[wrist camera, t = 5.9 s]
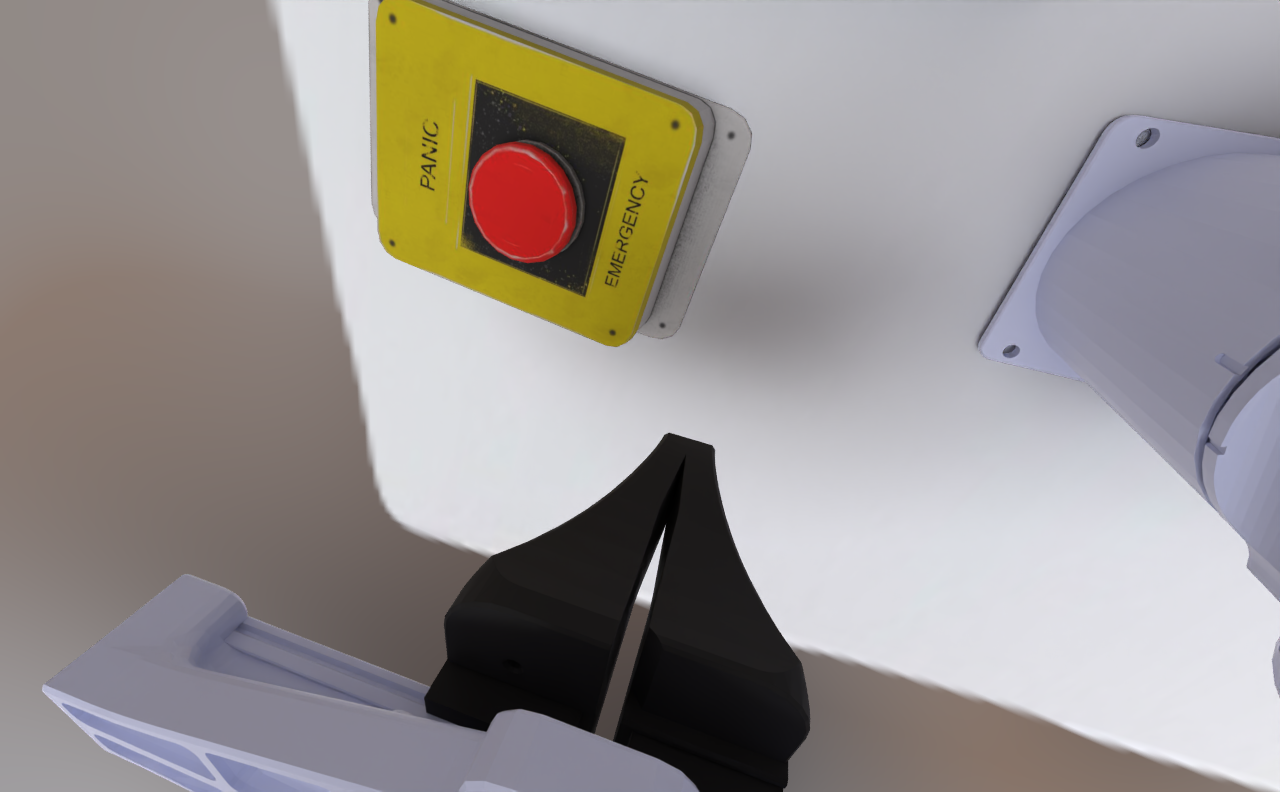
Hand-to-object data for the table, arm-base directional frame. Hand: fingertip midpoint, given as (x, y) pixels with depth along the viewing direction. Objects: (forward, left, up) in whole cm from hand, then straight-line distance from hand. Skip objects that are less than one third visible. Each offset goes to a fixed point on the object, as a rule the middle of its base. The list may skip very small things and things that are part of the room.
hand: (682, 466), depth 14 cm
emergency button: (+9, -5, -10) cm, 14 cm away
